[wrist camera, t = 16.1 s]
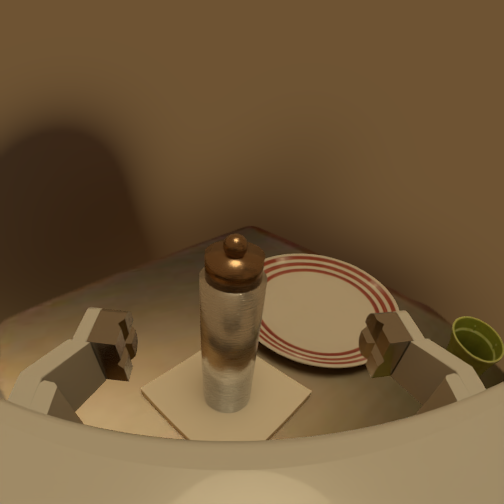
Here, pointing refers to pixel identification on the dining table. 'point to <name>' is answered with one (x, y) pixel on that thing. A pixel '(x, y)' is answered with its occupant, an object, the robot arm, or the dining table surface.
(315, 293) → the dinner plate
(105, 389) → the dining table surface
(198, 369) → the serving tile
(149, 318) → the dining table surface
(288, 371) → the dining table surface
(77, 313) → the dining table surface
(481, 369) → the plant pot
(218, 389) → the pepper mill
